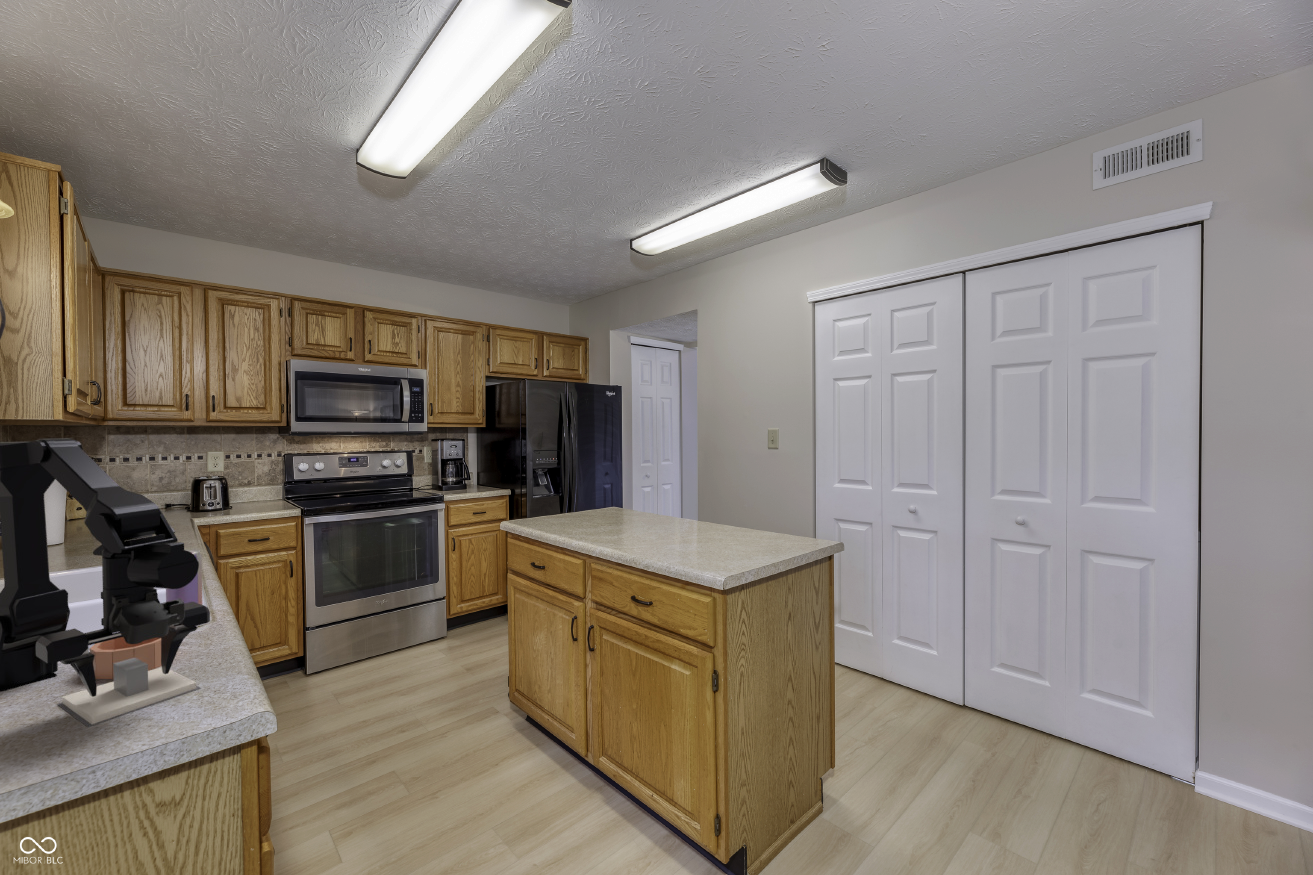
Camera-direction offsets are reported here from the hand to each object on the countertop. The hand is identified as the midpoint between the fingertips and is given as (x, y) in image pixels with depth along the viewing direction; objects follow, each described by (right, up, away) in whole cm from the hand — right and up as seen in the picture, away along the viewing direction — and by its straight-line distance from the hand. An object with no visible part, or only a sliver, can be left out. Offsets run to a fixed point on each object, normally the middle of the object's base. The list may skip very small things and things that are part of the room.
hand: (130, 684), depth 85 cm
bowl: (-10, -2, +11) cm, 15 cm away
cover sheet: (0, -2, 0) cm, 2 cm away
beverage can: (-21, -2, +34) cm, 40 cm away
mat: (0, -2, 0) cm, 2 cm away
